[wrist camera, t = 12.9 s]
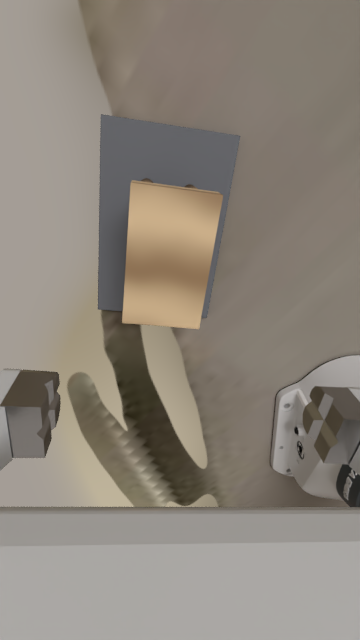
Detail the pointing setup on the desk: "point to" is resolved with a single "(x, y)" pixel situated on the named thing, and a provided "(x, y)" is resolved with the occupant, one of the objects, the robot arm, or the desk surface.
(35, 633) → the robot arm
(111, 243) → the charcoal mat
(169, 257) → the oak stool
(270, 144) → the desk surface
